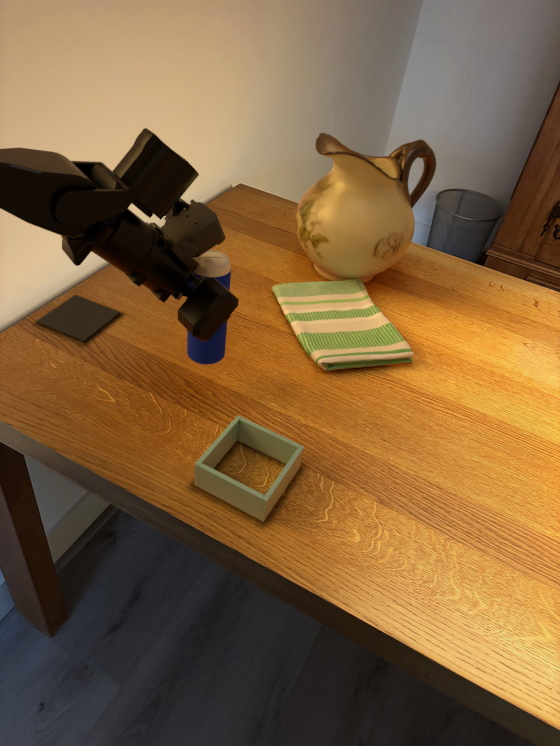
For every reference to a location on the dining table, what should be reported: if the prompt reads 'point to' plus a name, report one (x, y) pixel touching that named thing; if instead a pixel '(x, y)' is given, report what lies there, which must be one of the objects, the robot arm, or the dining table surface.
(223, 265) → the beverage can
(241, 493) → the tray
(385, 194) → the pitcher
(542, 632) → the dining table surface
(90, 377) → the dining table surface
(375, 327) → the dish towel
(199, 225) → the robot arm
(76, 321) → the mat
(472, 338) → the dining table surface
